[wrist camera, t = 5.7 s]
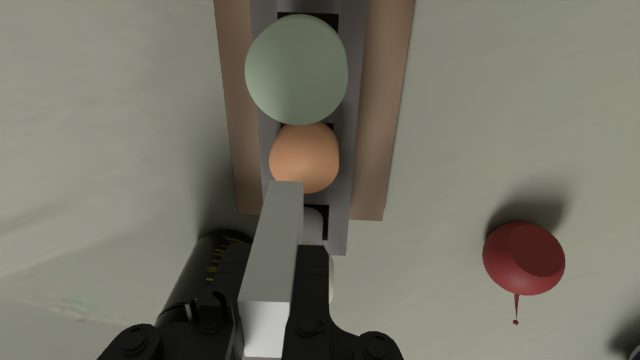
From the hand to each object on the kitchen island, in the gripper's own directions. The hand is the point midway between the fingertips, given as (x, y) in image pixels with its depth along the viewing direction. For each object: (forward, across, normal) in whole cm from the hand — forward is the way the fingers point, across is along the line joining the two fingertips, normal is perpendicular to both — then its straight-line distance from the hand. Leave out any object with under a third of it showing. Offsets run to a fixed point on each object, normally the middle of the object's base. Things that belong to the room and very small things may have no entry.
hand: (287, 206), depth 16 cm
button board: (+12, +1, 0) cm, 12 cm away
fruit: (+12, +19, -13) cm, 26 cm away
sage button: (+7, +1, +6) cm, 9 cm away
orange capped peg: (+11, +1, 0) cm, 11 cm away
